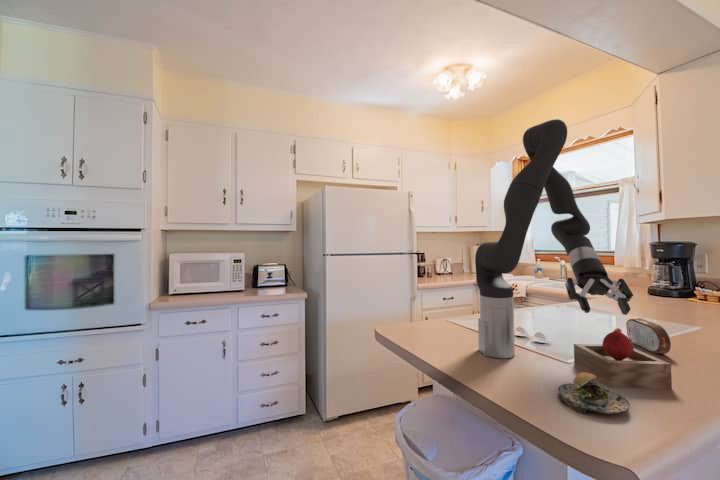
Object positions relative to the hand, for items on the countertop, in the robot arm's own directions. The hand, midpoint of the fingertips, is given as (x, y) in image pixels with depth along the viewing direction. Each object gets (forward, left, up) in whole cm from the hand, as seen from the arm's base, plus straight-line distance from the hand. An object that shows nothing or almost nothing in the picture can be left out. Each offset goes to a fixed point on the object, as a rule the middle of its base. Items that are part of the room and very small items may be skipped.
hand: (607, 312), depth 80 cm
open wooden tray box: (-1, -5, -15) cm, 16 cm away
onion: (-1, -5, -11) cm, 12 cm away
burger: (-16, -19, -15) cm, 29 cm away
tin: (+21, +15, -15) cm, 30 cm away
